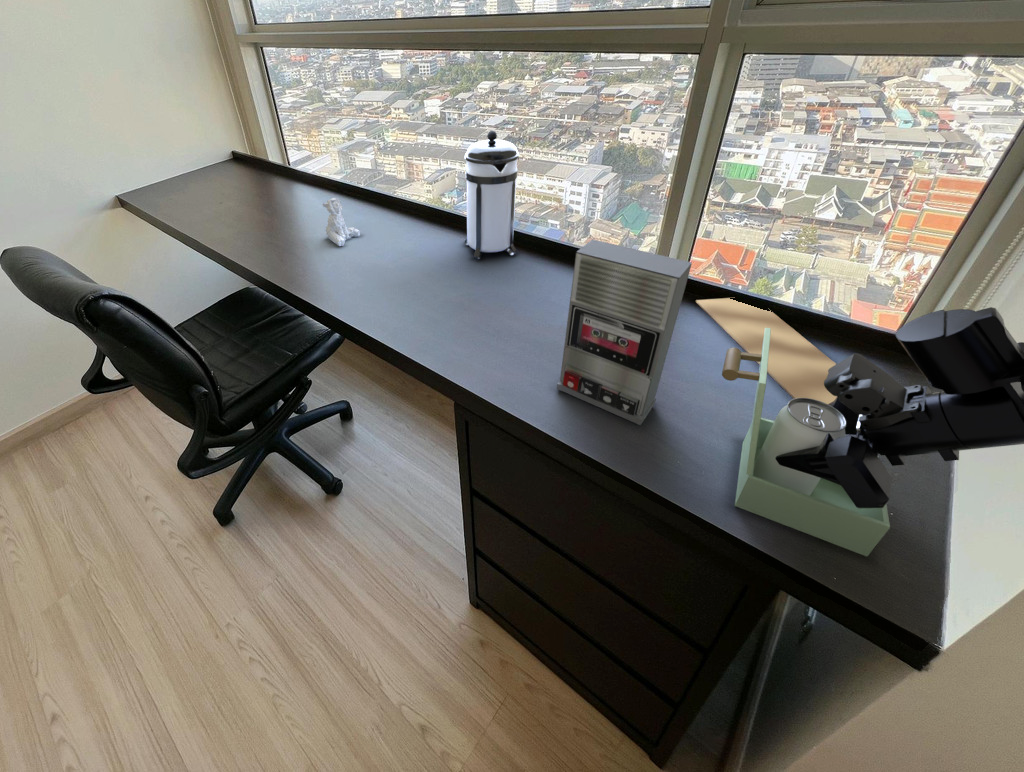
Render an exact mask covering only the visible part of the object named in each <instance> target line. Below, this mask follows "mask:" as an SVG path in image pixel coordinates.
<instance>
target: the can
mask: <svg viewBox="0 0 1024 772" xmlns="http://www.w3.org/2000/svg"><path fill="white" fill-rule="evenodd" d="M773 421H774V423H773V425H772V427H771V429H770V432H769V434H768V436H767V438H766V440H765V442H764V444H763V446H762V448H761V451H760V453H759V455H758V457H757V459H756V461H755V464H754V474H753V475H754V477H757V478H760V479H763V480H766V481H769V482H771V483H774V484H777V485H780V486H783V487H786V488H788V489H791V490H794V491H797V492H800V493H803V494H806V495H808V496H810V495H811V494H812V492H813V490H814V489H815V487H816V486H817V484H818V482H819V481H820V479H821V478H820V477H817V476H814V475H810V474H807V473H804V472H801V471H797V470H794V469H791V468H787V467H784V466H781V465H779V463H778V462H777V461H776V459H775V458H776V456H778V455H782V454H785V453H789V452H793V451H798V450H802V449H807V448H812V447H816V446H820V445H821V443H822V442H823V440H824V438H825V436H826V435H827V434H828V433H829V434H830V435H831V436H832V438H833V439H834V440H836V439H837V438H839V437H846V434H845V427H846V425H847V422H846V419H845V417H844V416H843V415H842V414H841V413H840V412H839V411H838V410H837V409H835V408H834V407H832V406H830V405H828V404H826V403H824V402H821V401H818V400H815V399H810V398H795V399H793V398H792V399H790V400H789V401H788V402H787V405H785V406H783V407H782V408H781V409H780V410H779V412H778V413H777V415H776V417H775V419H774V420H773Z"/></svg>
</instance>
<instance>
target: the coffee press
mask: <svg viewBox="0 0 1024 772" xmlns="http://www.w3.org/2000/svg"><path fill="white" fill-rule="evenodd" d="M486 137H487V139H485V140H479V141H477V142H475V143H472V144H471V145H470V146H469V147H468V148H467V151H466V152H465V154H464V160H465V161H466V163H465V164H466V168H465V180H466V239H465V240H464V245H465V246H467V247H468V246H469V247H470V248H471V249H472V250H475V251H474V253H473V260H478V261H480V260H481V259H482V256H483V254H484V253H498V252H503V251H506V252H507V253H508V255H510V256H514V255H515V254H517V252H518V251H517V249H516V247H515V245H514V231H515V229H514V228H515V212H516V211H515V209H516V190H517V178H518V167H517V166H518V160H519V157H520V152H519V151H518V148H517V146H516V145H515V144H514V143H512V142H510V141H507V140H503V139H497V138H498V133H497V132H496V131H494V130H489V132H488V133H487V135H486ZM510 248H511V249H510Z"/></svg>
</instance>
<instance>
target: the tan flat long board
mask: <svg viewBox="0 0 1024 772" xmlns="http://www.w3.org/2000/svg"><path fill="white" fill-rule="evenodd" d="M730 298H731V297H723V298H707V299H696V300H695V303H696V304H697V305H698V306H699V307H700V308H701V309H702V310H703V311H704V312H705V313H706V314H707V315H708V316H709V317H710V318H711V319H712V320H713V321H714V322H715V323H717V325H718V326H719V327H720V328H721V329H722V330H723V331H725V333H726V334H727V335H728V336H729V337H731V339H733V341H734V342H736V344H737V345H738V346H740V348H742V350H744V352H745V353H754V354H761V353H762V346H763V339H764V332H765V328H771V334H770V345H769V356H768V368H767V375H769V376H770V377H771V378H772V379H773V380H774V381H775V383H777V385H779V386H780V387H781V388H782V389H783V390H784V391H785V392H786V393H787V394H788V395H789V396H790V397H791V398H792V399H795V398H810V399H815V400H818V401H821V402H824V403H826V404H829V403H831V402H833V401H834V400H835V399H836V397H837V396H834V395H832V394H831V393H830V392H828V391H827V389H826V388H825V386H824V381H825V379H826V378H827V376H828V373H829V372H828V370H829V369H830V368H831V367H833V366H834V365H836V364H837V363H836V362H835V361H834V360H832V359H831V358H829V357H828V356H827V355H826V354H825V353H823V352H822V351H821V350H820V349H819V348H817V347H816V346H815V345H814V344H812V343H811V341H809V340H807V339H806V338H805V337H804V336H802V334H800V333H799V332H798V331H796V330H795V329H794V328H793V327H792V326H790V325H789V324H788V323H786V322H785V321H784V320H783V319H781V318H780V317H779V316H778V315H777V314H776V313H774V312H773V311H772V310H770V311H767V310H763V309H760V308H757V307H754V306H751V305H748V304H745V303H742V302H738V301H736V300H733V299H730ZM771 311H772V312H771ZM755 362H756V363H757V364H758V365H759V366H760V362H757V361H755Z"/></svg>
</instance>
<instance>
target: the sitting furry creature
mask: <svg viewBox="0 0 1024 772" xmlns="http://www.w3.org/2000/svg"><path fill="white" fill-rule="evenodd" d="M322 206H323V208H326V210H327V212H328V213H329V215H328V217H327V224H326V225H327V226H326V227H325V234H326V236H327V238H328V239H329V240H330V241H331V242H333V243H334V244H335V245H336V246H338V247H343V246H344V245H345V244H346V241H347V240H351V238H359V237H360V236H361V232H360V230H359V229H357V228H356V227H354V226H352V227H351V226H350V227H347V225H346V223H345V222H346V220H345V219H344V216H343V213H342V211H343V207H344V206H343V205H342V202H341V200H339V198H338V197H332V198H330V199H328V200H327V201H326V202H323V203H322Z"/></svg>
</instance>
